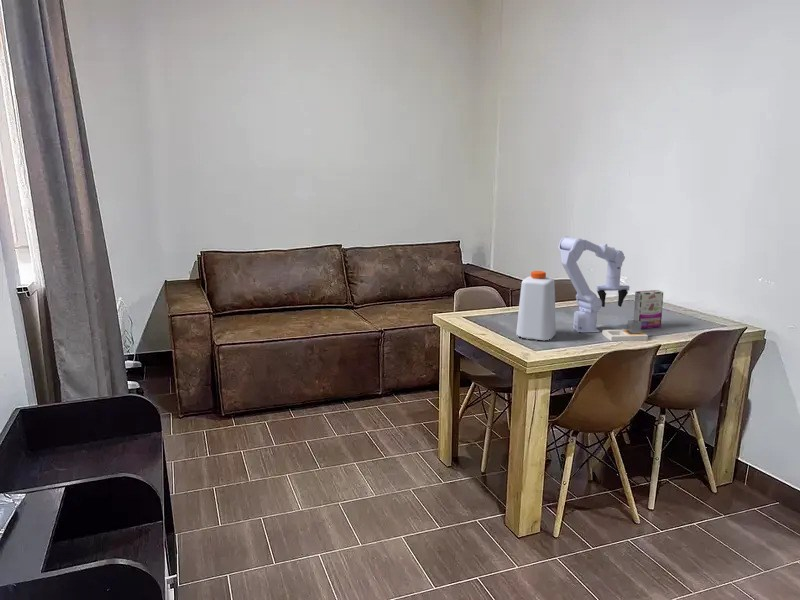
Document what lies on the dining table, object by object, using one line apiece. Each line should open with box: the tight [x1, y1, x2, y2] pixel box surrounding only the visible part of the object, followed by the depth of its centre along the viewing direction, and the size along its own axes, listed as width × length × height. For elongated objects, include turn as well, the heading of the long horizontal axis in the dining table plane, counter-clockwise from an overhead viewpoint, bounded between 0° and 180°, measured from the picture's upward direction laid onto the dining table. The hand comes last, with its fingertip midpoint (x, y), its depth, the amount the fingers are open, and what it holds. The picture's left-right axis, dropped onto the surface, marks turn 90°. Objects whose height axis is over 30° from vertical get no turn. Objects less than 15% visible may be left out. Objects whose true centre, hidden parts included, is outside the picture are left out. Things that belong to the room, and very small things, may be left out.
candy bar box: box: [633, 289, 664, 330], centre depth 268 cm, size 11×5×16 cm, turn 101°
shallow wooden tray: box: [601, 328, 649, 342], centre depth 254 cm, size 15×10×2 cm, turn 92°
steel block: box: [627, 319, 642, 334], centre depth 254 cm, size 4×4×7 cm
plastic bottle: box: [515, 270, 557, 341], centre depth 255 cm, size 15×15×28 cm
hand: (611, 306), depth 269 cm, fingers open, 7 cm apart
